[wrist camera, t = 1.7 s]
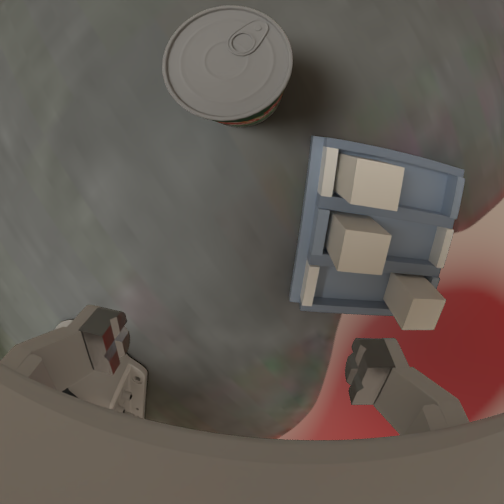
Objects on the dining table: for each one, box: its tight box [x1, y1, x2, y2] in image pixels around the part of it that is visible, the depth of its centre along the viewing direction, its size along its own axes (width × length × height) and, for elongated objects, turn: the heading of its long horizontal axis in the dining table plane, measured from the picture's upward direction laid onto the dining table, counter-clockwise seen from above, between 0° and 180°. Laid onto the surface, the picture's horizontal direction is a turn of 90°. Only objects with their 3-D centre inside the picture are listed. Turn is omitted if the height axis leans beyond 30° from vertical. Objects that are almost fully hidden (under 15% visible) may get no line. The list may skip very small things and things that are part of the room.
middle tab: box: [324, 210, 392, 275], centre depth 26 cm, size 4×4×6 cm
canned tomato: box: [162, 5, 293, 127], centre depth 20 cm, size 8×8×11 cm
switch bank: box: [289, 136, 465, 316], centre depth 28 cm, size 17×17×3 cm
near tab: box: [334, 153, 405, 211], centre depth 23 cm, size 4×4×6 cm
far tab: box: [383, 273, 446, 330], centre depth 28 cm, size 4×4×6 cm
